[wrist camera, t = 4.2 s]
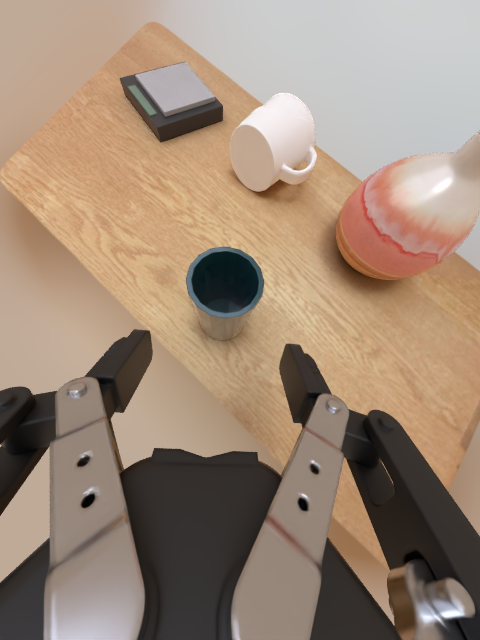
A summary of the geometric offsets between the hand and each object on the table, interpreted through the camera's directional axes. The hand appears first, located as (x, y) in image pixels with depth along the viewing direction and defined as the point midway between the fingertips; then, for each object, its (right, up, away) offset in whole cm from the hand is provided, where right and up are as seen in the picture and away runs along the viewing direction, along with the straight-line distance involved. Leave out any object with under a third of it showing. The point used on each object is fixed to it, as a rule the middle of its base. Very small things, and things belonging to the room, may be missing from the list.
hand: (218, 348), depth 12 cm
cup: (-1, +2, +14) cm, 14 cm away
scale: (-10, +39, +22) cm, 45 cm away
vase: (+20, +12, +19) cm, 30 cm away
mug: (+6, +25, +21) cm, 33 cm away
